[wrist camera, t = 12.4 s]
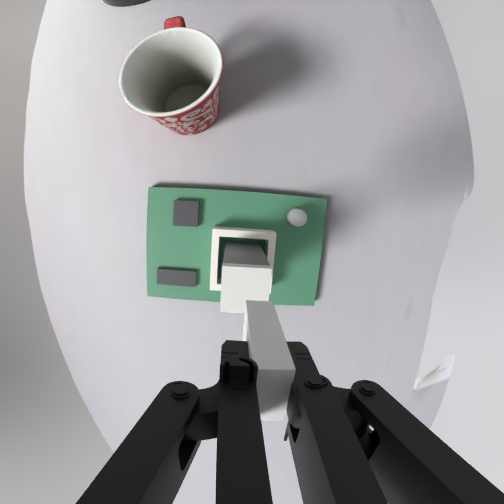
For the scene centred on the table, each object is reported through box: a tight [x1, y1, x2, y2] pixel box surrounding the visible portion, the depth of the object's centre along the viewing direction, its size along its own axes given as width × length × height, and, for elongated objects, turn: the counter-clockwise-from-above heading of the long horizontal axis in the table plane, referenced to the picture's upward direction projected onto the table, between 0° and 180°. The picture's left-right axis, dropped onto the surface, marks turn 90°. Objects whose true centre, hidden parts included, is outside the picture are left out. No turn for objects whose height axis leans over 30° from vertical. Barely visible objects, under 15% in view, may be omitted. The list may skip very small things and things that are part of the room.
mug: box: [119, 16, 223, 135], centre depth 25 cm, size 13×9×14 cm
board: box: [147, 187, 327, 306], centre depth 34 cm, size 14×22×4 cm, turn 86°
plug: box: [220, 241, 272, 313], centre depth 29 cm, size 4×4×12 cm
